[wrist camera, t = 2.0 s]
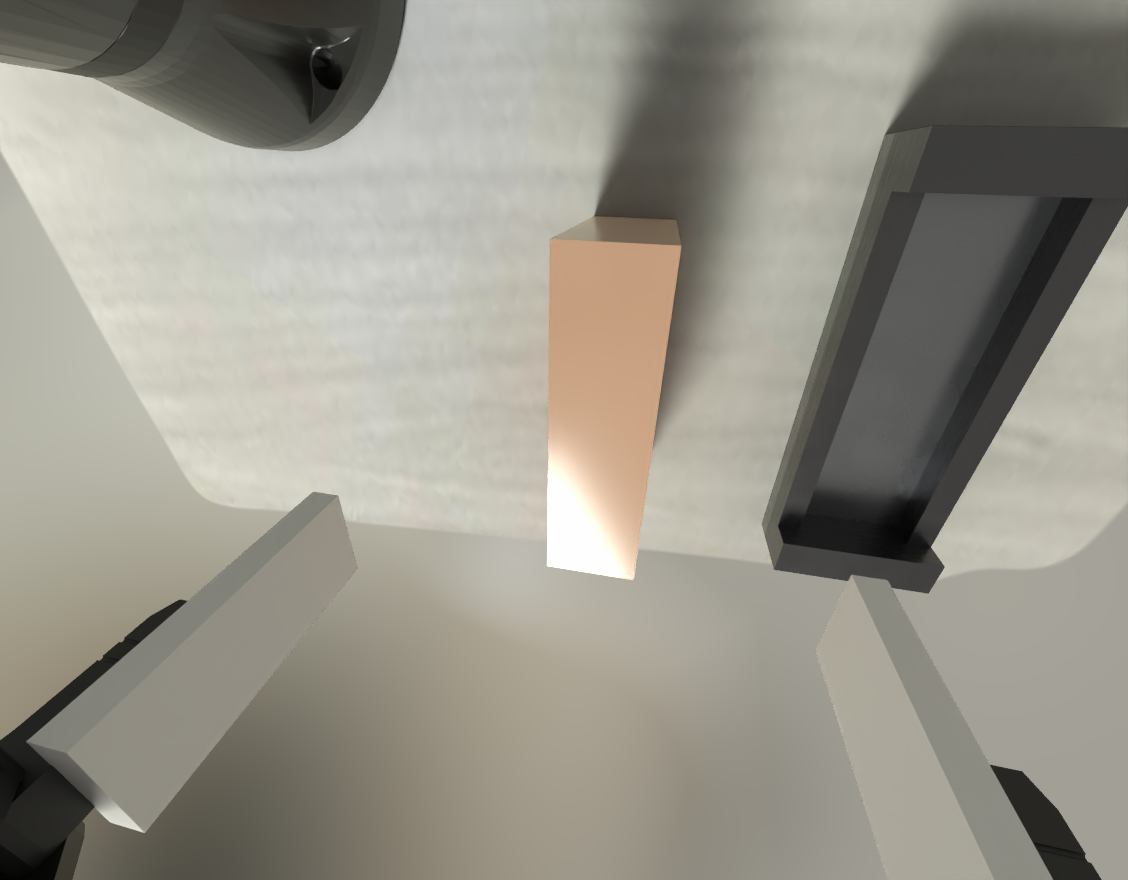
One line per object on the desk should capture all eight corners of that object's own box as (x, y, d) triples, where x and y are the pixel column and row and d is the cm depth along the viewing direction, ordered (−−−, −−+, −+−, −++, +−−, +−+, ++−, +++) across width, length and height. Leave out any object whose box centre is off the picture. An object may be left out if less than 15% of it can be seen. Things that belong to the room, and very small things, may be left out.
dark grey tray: (885, 135, 19) (932, 125, 16) (1109, 138, 18) (1215, 128, 14) (761, 524, 29) (774, 569, 26) (896, 543, 28) (928, 593, 25)
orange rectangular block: (594, 216, 23) (549, 239, 14) (676, 219, 22) (681, 245, 14) (581, 454, 30) (547, 565, 21) (643, 462, 29) (633, 579, 21)
